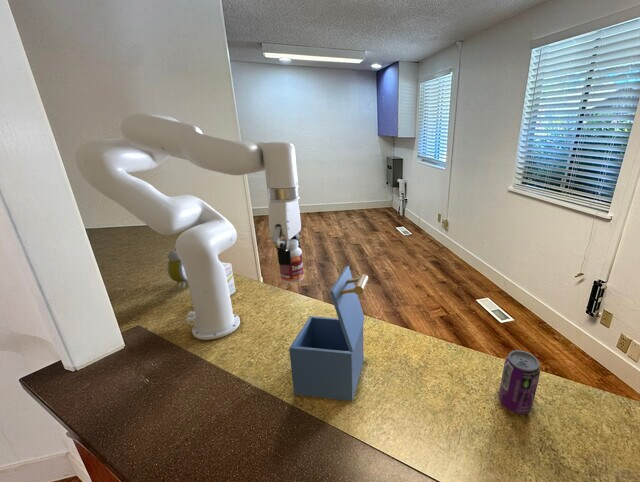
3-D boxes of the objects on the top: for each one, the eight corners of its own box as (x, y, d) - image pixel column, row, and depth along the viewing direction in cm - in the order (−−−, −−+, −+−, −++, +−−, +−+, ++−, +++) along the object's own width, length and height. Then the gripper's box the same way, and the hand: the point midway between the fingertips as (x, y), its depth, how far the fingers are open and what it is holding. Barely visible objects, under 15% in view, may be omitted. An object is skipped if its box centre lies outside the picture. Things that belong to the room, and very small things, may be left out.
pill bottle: (296, 285, 81) (292, 246, 77) (276, 282, 83) (271, 244, 79) (308, 275, 87) (305, 239, 83) (289, 273, 88) (285, 237, 85)
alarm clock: (185, 290, 113) (176, 253, 108) (167, 290, 113) (157, 252, 108) (204, 277, 124) (197, 242, 119) (187, 276, 124) (179, 242, 119)
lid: (329, 291, 59) (356, 287, 58) (345, 266, 71) (368, 262, 70) (349, 352, 63) (375, 349, 62) (361, 318, 75) (383, 315, 74)
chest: (293, 394, 69) (288, 348, 65) (313, 357, 81) (310, 315, 76) (352, 401, 68) (351, 354, 63) (363, 362, 79) (363, 320, 75)
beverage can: (528, 422, 64) (539, 376, 60) (494, 406, 67) (502, 362, 63) (533, 399, 69) (544, 356, 65) (502, 386, 73) (509, 344, 69)
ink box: (219, 303, 105) (214, 272, 101) (198, 300, 107) (192, 269, 103) (236, 291, 113) (231, 262, 109) (216, 288, 115) (211, 260, 111)
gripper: (283, 188, 85) (289, 248, 91) (251, 199, 69) (262, 272, 75) (309, 188, 85) (314, 249, 91) (283, 200, 68) (291, 273, 74)
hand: (290, 258), depth 83 cm, fingers closed on pill bottle, 6 cm apart
